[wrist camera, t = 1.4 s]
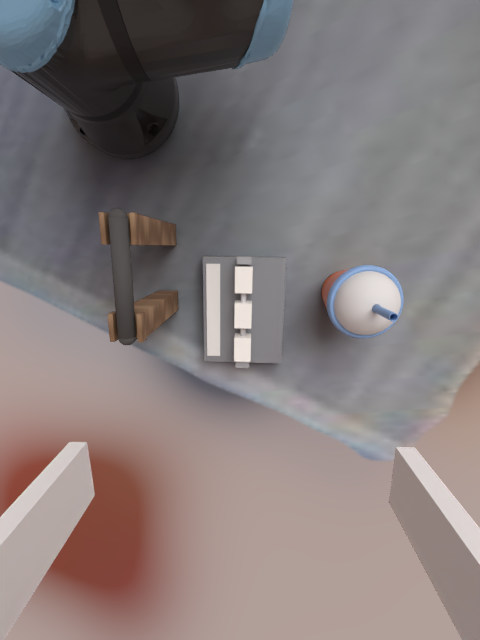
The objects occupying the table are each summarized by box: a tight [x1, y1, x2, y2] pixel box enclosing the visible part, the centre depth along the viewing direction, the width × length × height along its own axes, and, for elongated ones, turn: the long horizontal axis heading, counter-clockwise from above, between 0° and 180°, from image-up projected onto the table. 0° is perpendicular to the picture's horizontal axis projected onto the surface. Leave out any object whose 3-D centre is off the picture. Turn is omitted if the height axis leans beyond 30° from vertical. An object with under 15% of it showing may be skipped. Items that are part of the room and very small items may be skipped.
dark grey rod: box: [108, 208, 136, 345], centre depth 31 cm, size 14×2×2 cm, turn 179°
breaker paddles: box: [234, 266, 253, 362], centre depth 44 cm, size 14×2×2 cm, turn 179°
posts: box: [99, 212, 178, 342], centre depth 39 cm, size 13×4×17 cm, turn 179°
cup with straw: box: [322, 265, 403, 338], centre depth 39 cm, size 9×9×18 cm
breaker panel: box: [203, 256, 287, 368], centre depth 46 cm, size 16×12×5 cm
